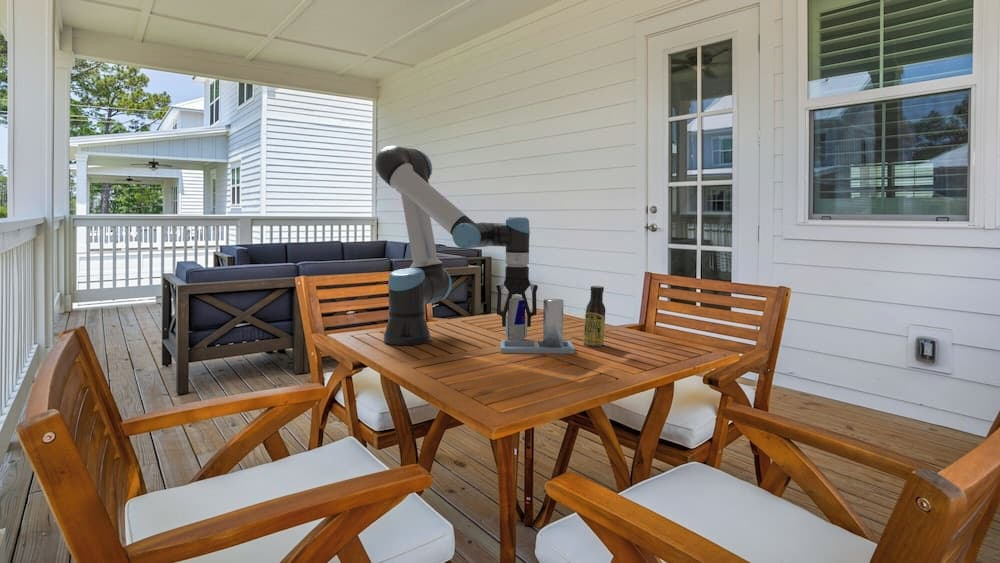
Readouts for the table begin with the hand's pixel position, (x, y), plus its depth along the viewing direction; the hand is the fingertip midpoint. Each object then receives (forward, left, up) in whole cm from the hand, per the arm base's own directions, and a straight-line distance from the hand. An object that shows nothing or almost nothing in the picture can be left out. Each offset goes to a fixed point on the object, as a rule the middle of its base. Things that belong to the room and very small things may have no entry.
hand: (516, 336), depth 178 cm
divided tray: (+12, -6, -2) cm, 14 cm away
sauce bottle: (+23, +10, -3) cm, 25 cm away
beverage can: (0, 0, -3) cm, 3 cm away
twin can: (+16, -3, -1) cm, 16 cm away
